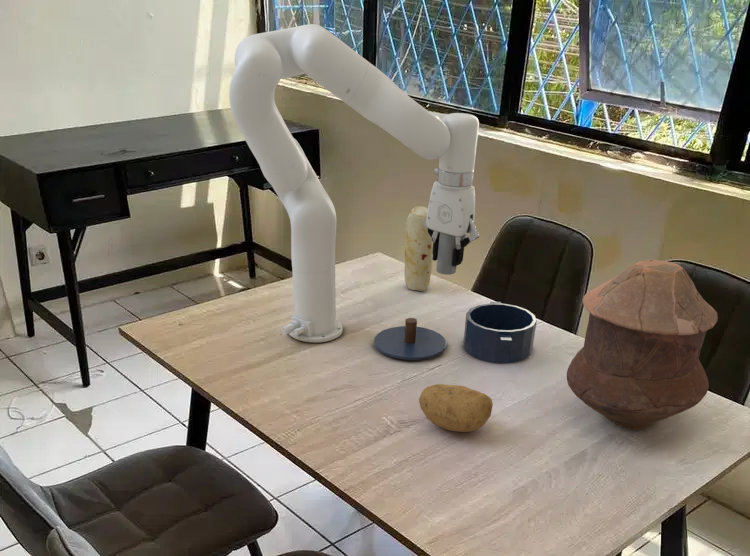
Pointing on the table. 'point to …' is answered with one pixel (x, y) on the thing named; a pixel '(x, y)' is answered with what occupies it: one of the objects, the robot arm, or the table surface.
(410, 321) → the lid
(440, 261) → the grey tube
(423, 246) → the food model
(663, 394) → the pottery vessel
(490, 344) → the pot
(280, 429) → the table surface
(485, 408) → the potato
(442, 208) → the robot arm
